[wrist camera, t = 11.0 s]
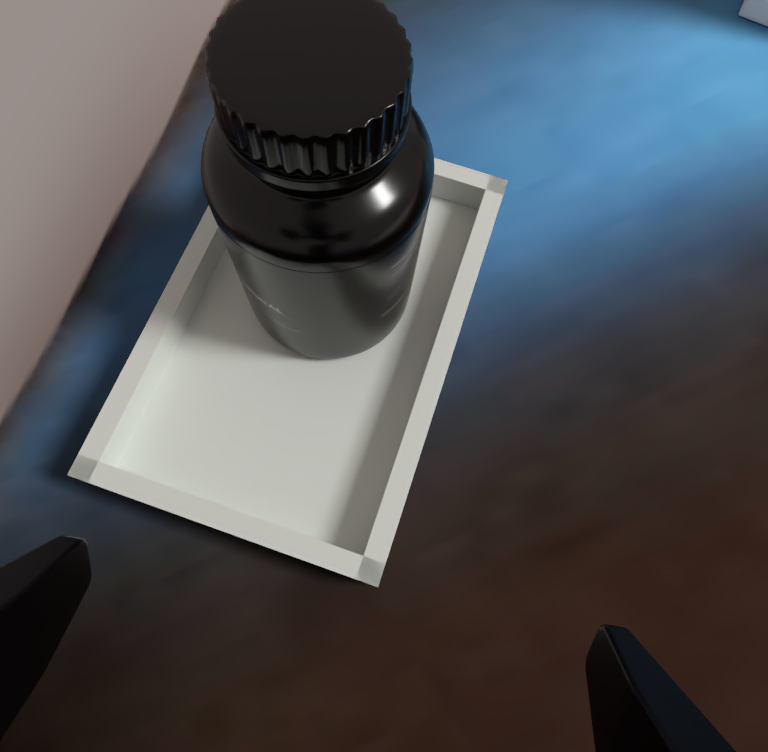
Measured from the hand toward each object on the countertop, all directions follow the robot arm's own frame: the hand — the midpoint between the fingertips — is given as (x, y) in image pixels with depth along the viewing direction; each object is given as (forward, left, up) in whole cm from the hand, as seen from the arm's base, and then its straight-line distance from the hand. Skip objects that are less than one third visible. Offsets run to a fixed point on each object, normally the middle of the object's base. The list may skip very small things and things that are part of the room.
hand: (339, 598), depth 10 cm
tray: (+9, +5, -12) cm, 15 cm away
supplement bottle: (+11, +5, -11) cm, 16 cm away
